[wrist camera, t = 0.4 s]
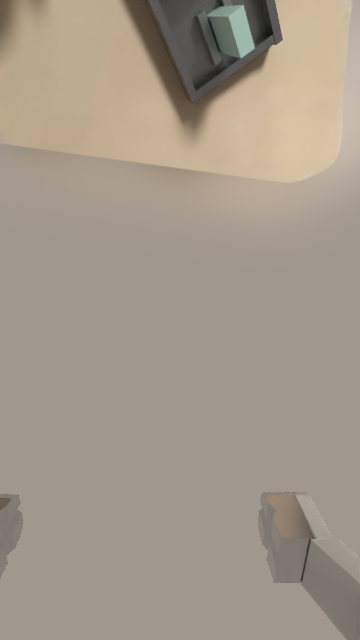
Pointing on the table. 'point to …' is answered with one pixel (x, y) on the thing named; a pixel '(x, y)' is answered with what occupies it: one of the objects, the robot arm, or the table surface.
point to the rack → (209, 39)
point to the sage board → (231, 30)
